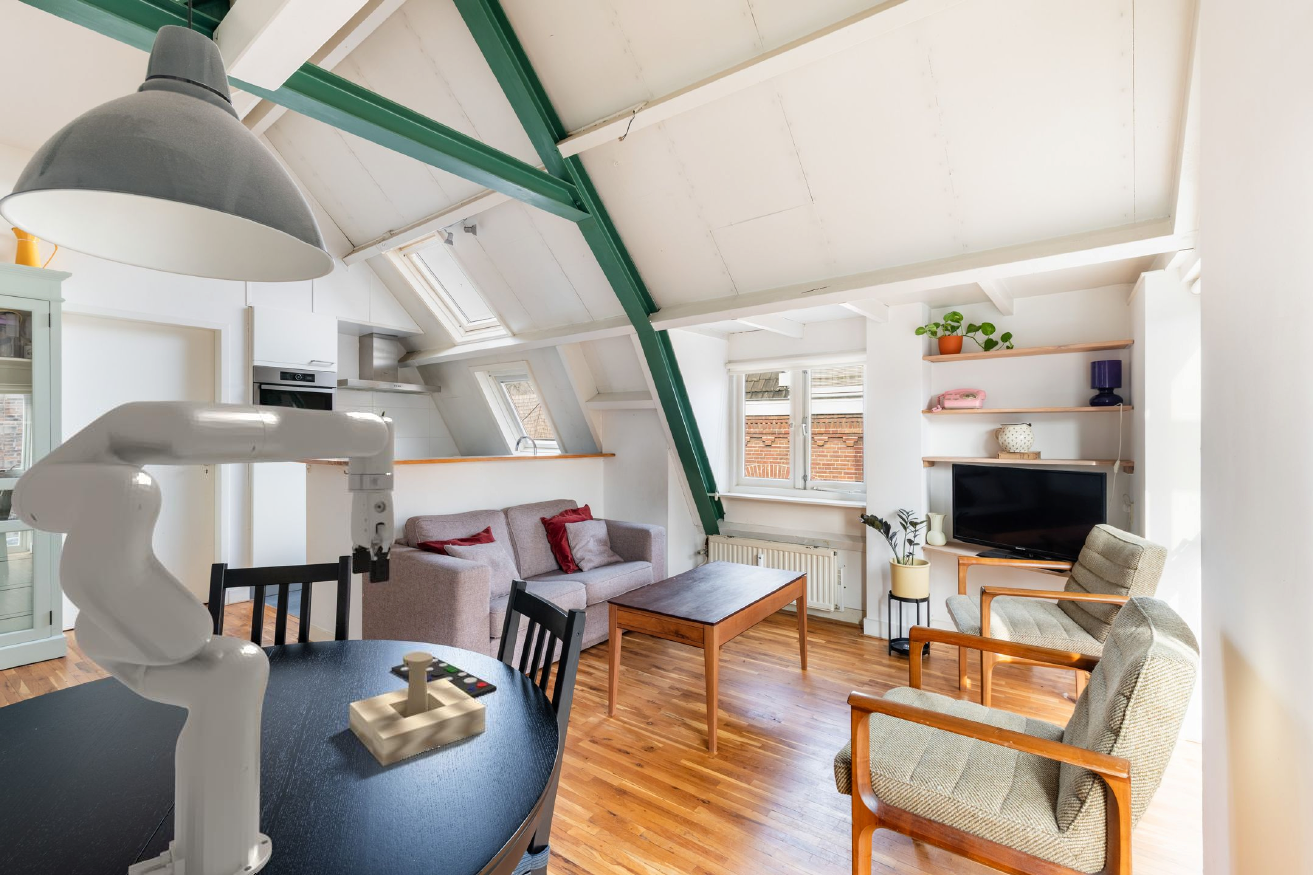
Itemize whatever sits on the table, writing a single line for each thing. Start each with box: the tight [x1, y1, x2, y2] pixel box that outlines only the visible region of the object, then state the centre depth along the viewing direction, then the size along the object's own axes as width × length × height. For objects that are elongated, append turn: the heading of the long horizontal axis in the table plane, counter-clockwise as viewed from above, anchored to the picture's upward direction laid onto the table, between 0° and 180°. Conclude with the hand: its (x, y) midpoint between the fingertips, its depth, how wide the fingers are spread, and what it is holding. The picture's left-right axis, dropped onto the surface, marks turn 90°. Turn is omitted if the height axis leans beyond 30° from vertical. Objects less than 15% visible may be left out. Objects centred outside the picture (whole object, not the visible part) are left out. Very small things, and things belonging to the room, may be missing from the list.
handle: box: [402, 651, 434, 717], centre depth 124 cm, size 5×6×15 cm
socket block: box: [349, 678, 486, 767], centre depth 124 cm, size 20×20×5 cm
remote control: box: [391, 656, 497, 699], centre depth 150 cm, size 11×30×2 cm, turn 49°
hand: (370, 577), depth 110 cm, fingers open, 9 cm apart
